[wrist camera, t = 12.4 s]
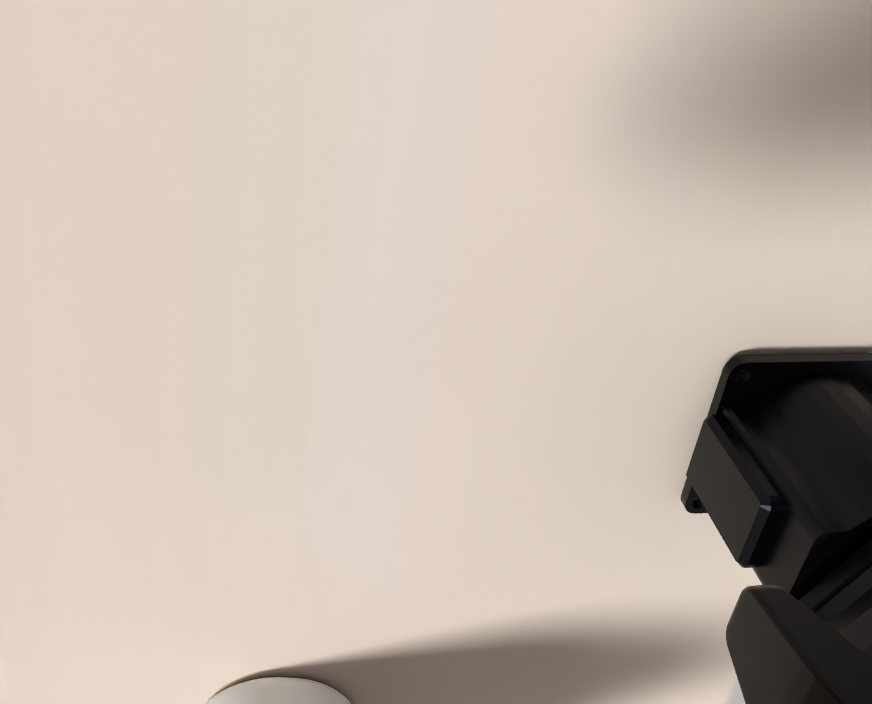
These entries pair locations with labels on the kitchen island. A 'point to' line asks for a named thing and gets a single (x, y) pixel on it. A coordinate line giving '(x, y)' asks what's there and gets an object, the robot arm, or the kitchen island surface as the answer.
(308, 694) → the bath foam
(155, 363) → the kitchen island surface
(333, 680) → the kitchen island surface
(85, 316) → the kitchen island surface
